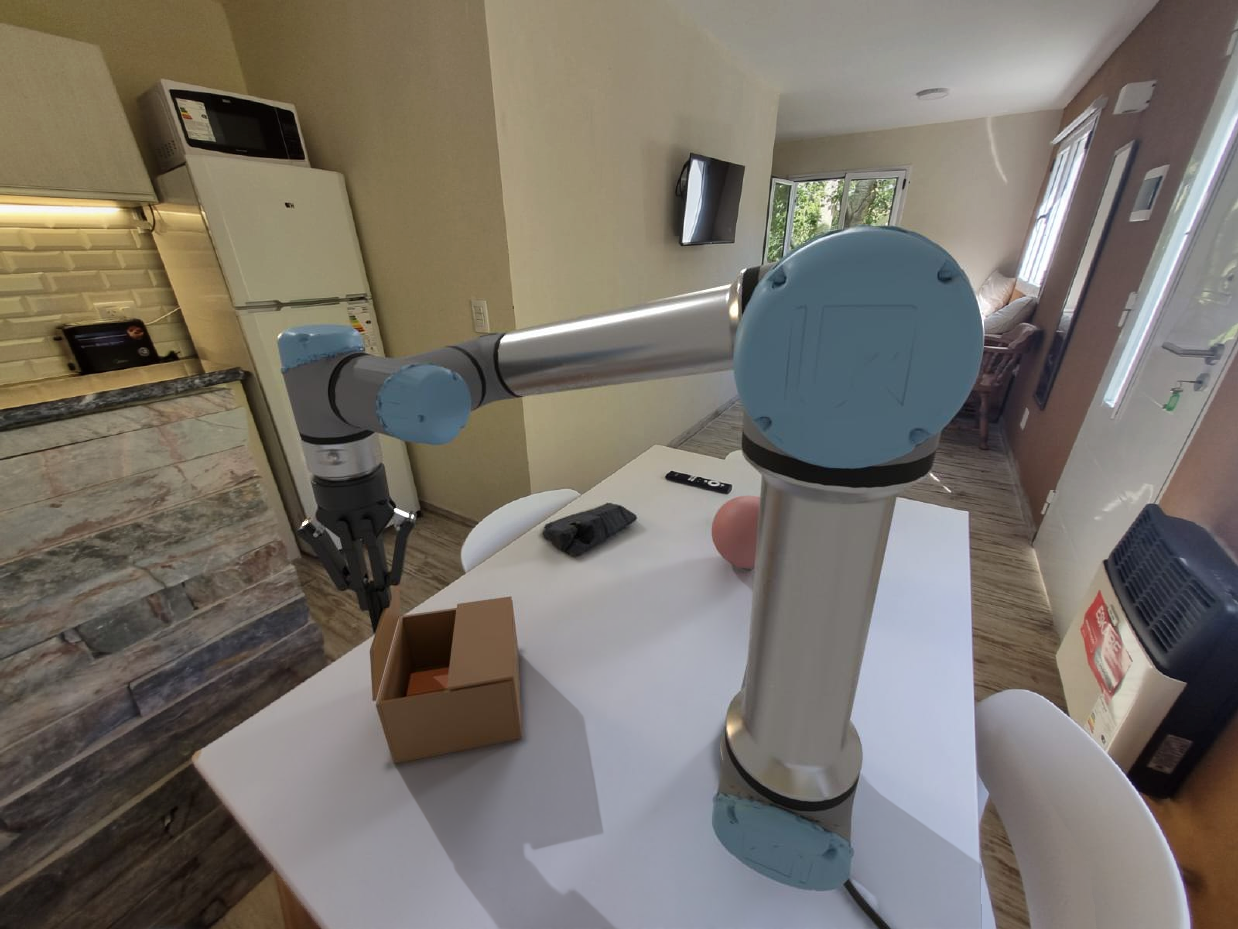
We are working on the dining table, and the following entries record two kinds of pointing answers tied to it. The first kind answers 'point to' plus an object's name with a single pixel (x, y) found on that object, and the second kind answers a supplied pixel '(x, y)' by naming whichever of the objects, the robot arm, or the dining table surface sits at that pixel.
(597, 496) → the dining table surface
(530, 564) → the dining table surface
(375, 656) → the flap
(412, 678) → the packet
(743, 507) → the balloon
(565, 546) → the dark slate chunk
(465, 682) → the box
